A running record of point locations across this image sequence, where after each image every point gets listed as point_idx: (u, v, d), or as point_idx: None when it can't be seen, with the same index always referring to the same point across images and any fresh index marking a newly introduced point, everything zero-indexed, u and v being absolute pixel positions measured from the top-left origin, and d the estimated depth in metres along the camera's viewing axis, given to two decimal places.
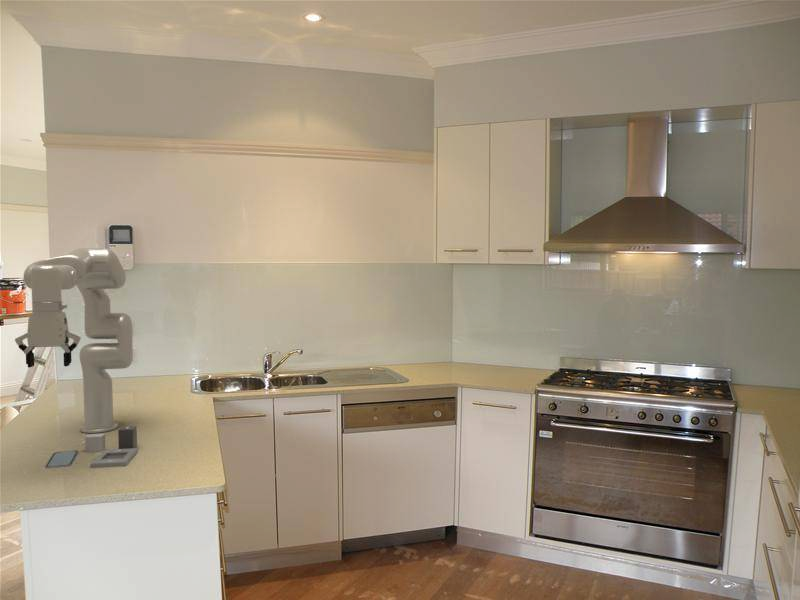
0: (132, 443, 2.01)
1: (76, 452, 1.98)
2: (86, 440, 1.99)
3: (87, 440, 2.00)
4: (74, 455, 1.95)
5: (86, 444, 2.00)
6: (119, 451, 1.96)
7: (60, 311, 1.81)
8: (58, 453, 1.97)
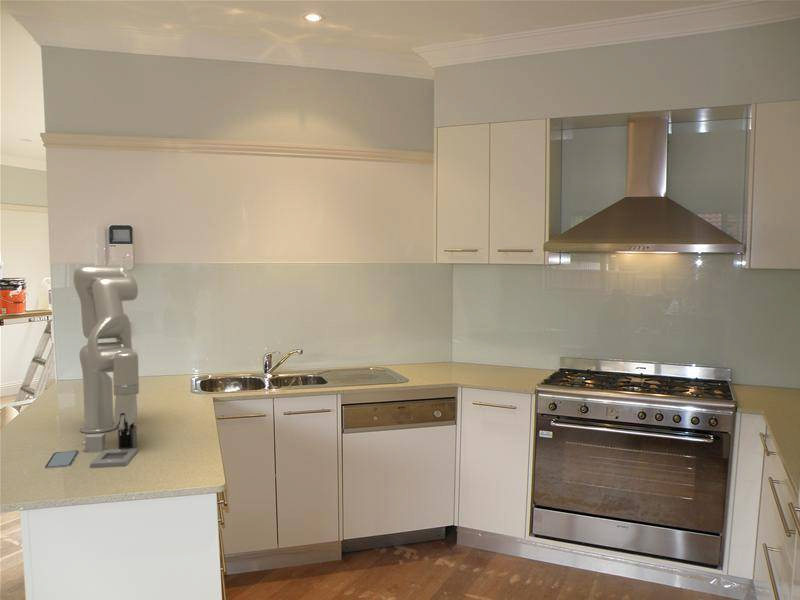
0: (132, 443, 2.01)
1: (76, 452, 1.98)
2: (86, 440, 1.99)
3: (87, 440, 2.00)
4: (74, 455, 1.95)
5: (86, 444, 2.00)
6: (119, 451, 1.96)
7: None
8: (58, 453, 1.97)
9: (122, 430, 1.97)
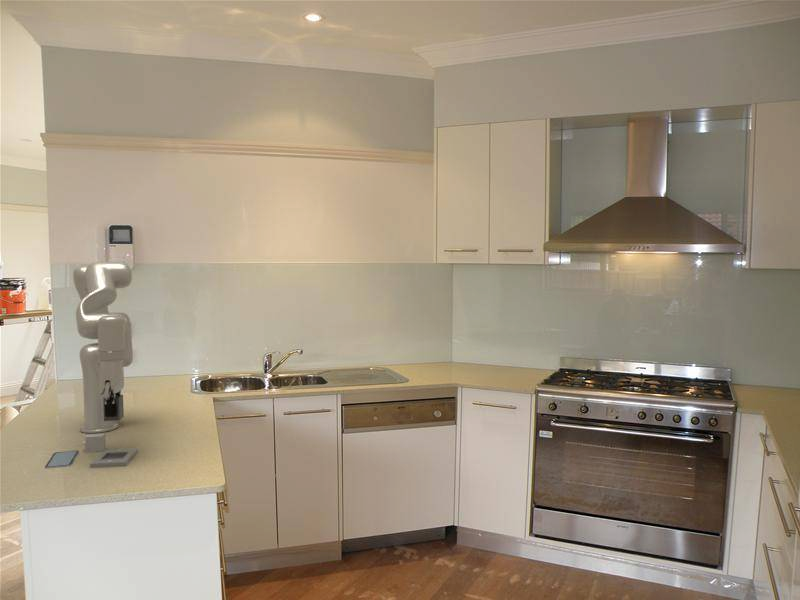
0: (118, 412, 1.90)
1: (76, 452, 1.98)
2: (86, 440, 1.99)
3: (87, 440, 2.00)
4: (74, 455, 1.95)
5: (86, 444, 2.00)
6: (119, 451, 1.96)
7: None
8: (58, 453, 1.97)
9: (107, 398, 1.85)
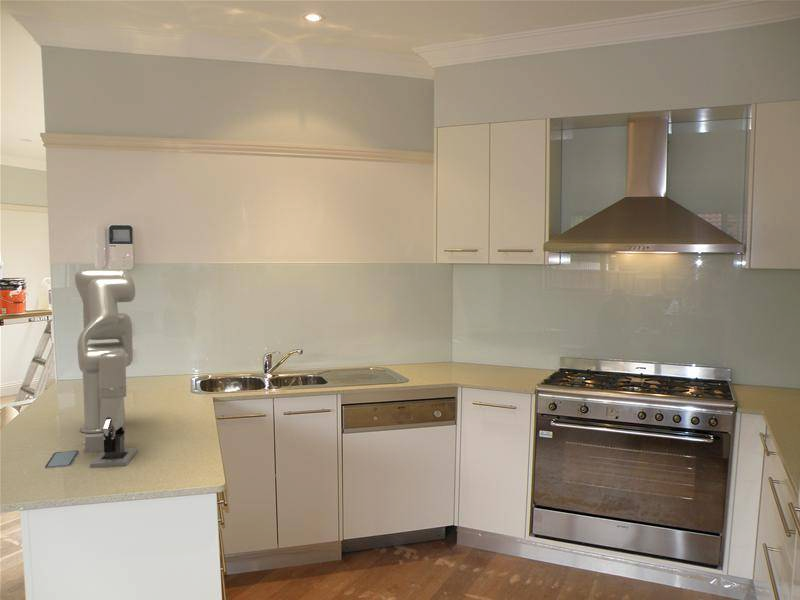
0: (119, 452, 1.91)
1: (76, 452, 1.98)
2: (86, 440, 1.99)
3: (87, 440, 2.00)
4: (74, 455, 1.95)
5: (86, 444, 2.00)
6: None
7: None
8: (58, 453, 1.97)
9: (106, 432, 1.84)
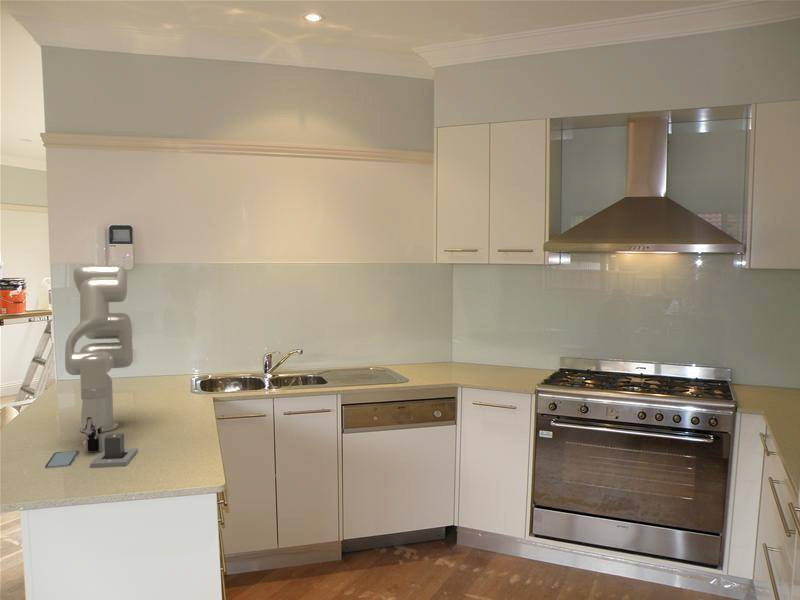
0: (119, 452, 1.91)
1: (76, 452, 1.98)
2: (86, 440, 1.99)
3: (87, 440, 2.00)
4: (74, 455, 1.95)
5: (86, 444, 2.00)
6: None
7: None
8: (59, 453, 1.97)
9: (89, 434, 1.96)
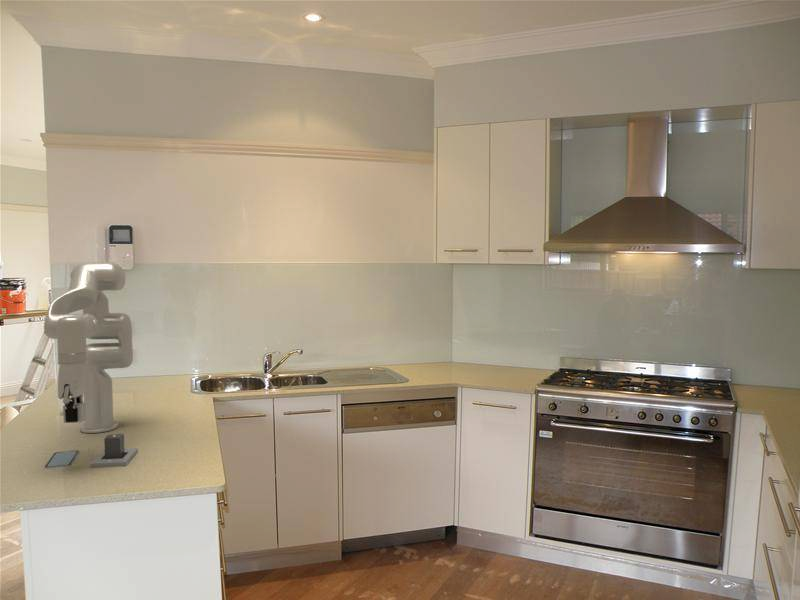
0: (119, 452, 1.91)
1: (76, 452, 1.98)
2: (64, 409, 1.81)
3: None
4: (74, 455, 1.95)
5: (64, 414, 1.81)
6: None
7: None
8: (59, 453, 1.97)
9: (67, 403, 1.77)
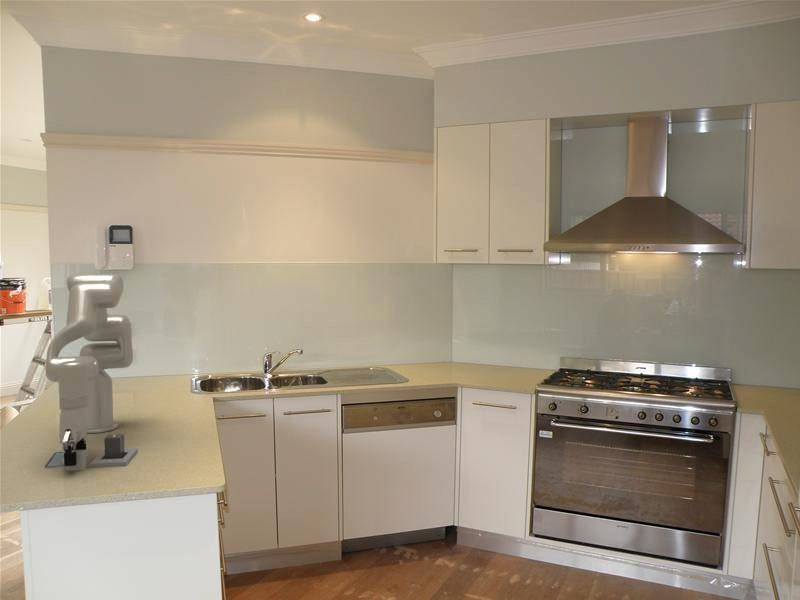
0: (119, 452, 1.91)
1: None
2: None
3: None
4: None
5: None
6: None
7: None
8: (59, 453, 1.97)
9: (65, 446, 1.76)
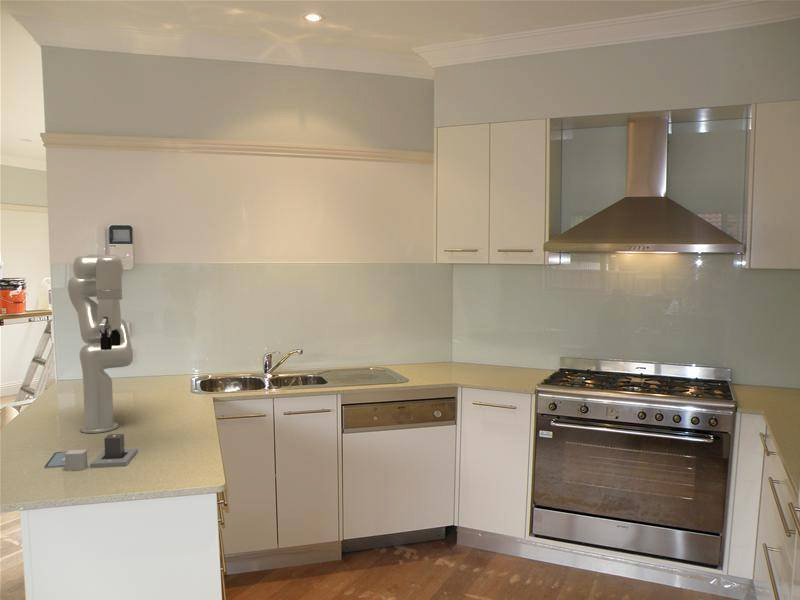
0: (119, 452, 1.91)
1: None
2: (66, 457, 1.82)
3: (67, 457, 1.82)
4: None
5: (66, 462, 1.82)
6: None
7: None
8: (59, 453, 1.97)
9: (102, 329, 1.94)
